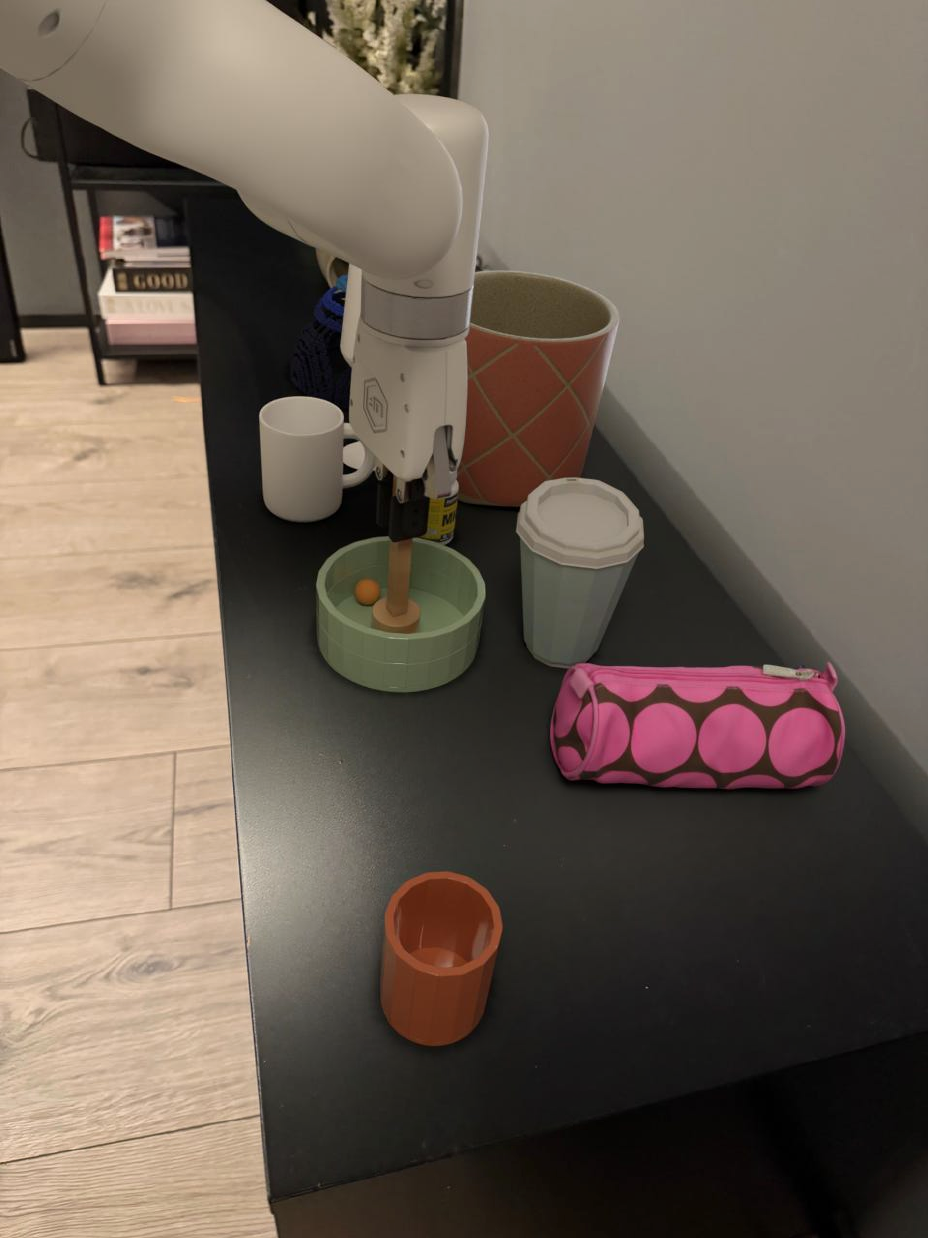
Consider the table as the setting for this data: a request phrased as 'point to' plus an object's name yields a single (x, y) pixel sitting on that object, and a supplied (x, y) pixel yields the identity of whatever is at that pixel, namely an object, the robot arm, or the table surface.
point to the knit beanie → (322, 349)
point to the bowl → (400, 659)
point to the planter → (531, 383)
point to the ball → (367, 591)
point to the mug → (306, 458)
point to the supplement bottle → (443, 515)
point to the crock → (438, 957)
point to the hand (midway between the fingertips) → (401, 528)
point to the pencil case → (698, 726)
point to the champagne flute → (352, 350)
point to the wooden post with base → (397, 592)
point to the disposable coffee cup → (574, 565)
